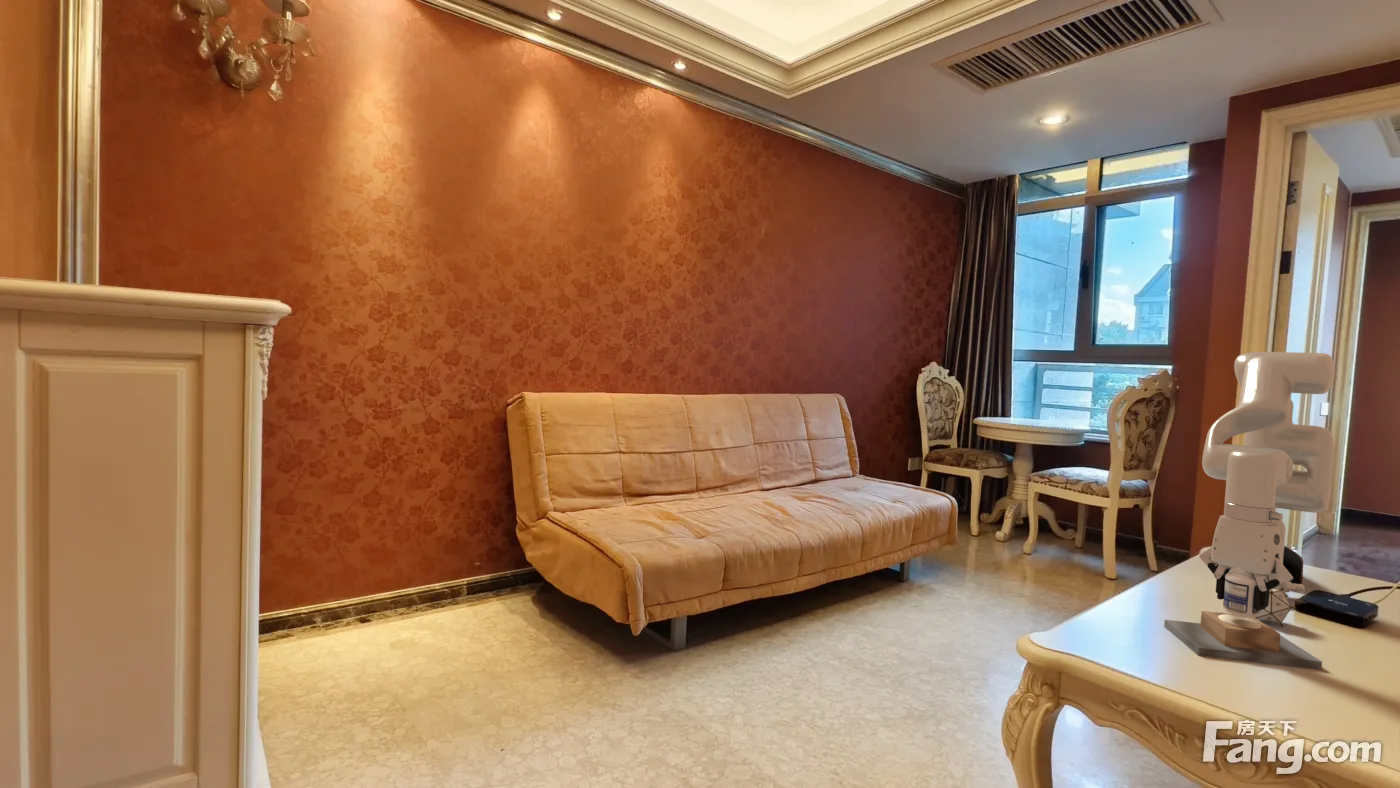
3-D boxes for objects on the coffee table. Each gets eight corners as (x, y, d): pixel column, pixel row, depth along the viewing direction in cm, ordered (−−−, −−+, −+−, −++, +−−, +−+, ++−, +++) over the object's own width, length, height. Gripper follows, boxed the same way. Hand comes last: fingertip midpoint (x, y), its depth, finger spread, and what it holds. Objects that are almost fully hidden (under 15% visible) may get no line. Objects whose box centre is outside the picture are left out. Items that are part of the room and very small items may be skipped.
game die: (1271, 642, 142) (1280, 615, 137) (1229, 615, 149) (1236, 588, 144) (1299, 620, 144) (1309, 592, 139) (1256, 594, 151) (1264, 566, 145)
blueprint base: (1273, 638, 135) (1275, 613, 135) (1321, 669, 122) (1323, 642, 121) (1164, 626, 140) (1165, 602, 139) (1198, 655, 126) (1200, 628, 126)
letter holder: (1255, 583, 171) (1260, 530, 170) (1220, 561, 190) (1224, 513, 189) (1302, 588, 168) (1307, 534, 167) (1262, 565, 187) (1266, 516, 186)
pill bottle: (1244, 608, 133) (1248, 561, 132) (1264, 619, 127) (1269, 569, 127) (1216, 606, 133) (1219, 559, 133) (1234, 617, 128) (1239, 567, 127)
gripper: (1313, 522, 123) (1304, 616, 124) (1208, 502, 138) (1202, 587, 139) (1294, 525, 120) (1285, 623, 121) (1189, 505, 135) (1182, 591, 136)
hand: (1240, 602), depth 130 cm, fingers closed on pill bottle, 5 cm apart
